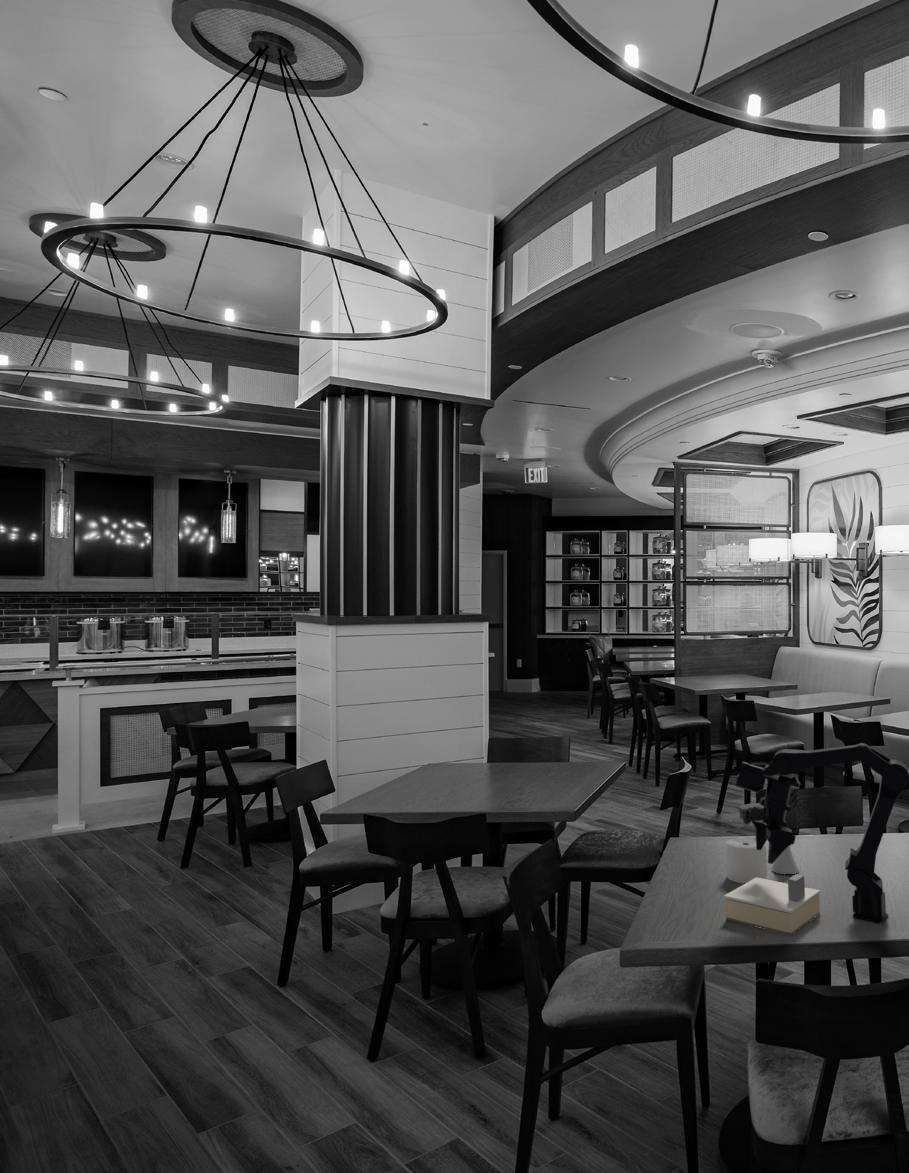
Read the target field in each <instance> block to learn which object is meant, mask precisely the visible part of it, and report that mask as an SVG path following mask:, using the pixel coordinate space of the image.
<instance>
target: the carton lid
mask: <svg viewBox="0 0 909 1173" xmlns="http://www.w3.org/2000/svg"><path fill="white" fill-rule="evenodd" d="M805 885H806V884H805V875H803V874H799V873H797V874H795V875H791V877H789V878H788V879H787V883H785V882H780V881H776V880H773V879H772V880H771V879H768V878H767V879H762V878H757V877H756V878H754V879H752V880H751V881H749V882H747V883H745V884H742V885H740V886H739V887H737V888H735V889H733V890H732V891H730V892H728V893H726V894H725V895H724V899H731V900H735V901H740V902H744V903H748V904H753V905H757V906H762V907H766V908H770V909H775V910H779V911H784V912H788V913H792V912H793V911H795V910H796V909H798V908H799V907H801V906H802V905H803V904H805V903H806V902H808V901H809V900H811V899H812V898H814V897H815V896H816V895H818V894H819V895H820V894H821V890H820V889H815V888H810V887H806V886H805Z"/></svg>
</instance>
